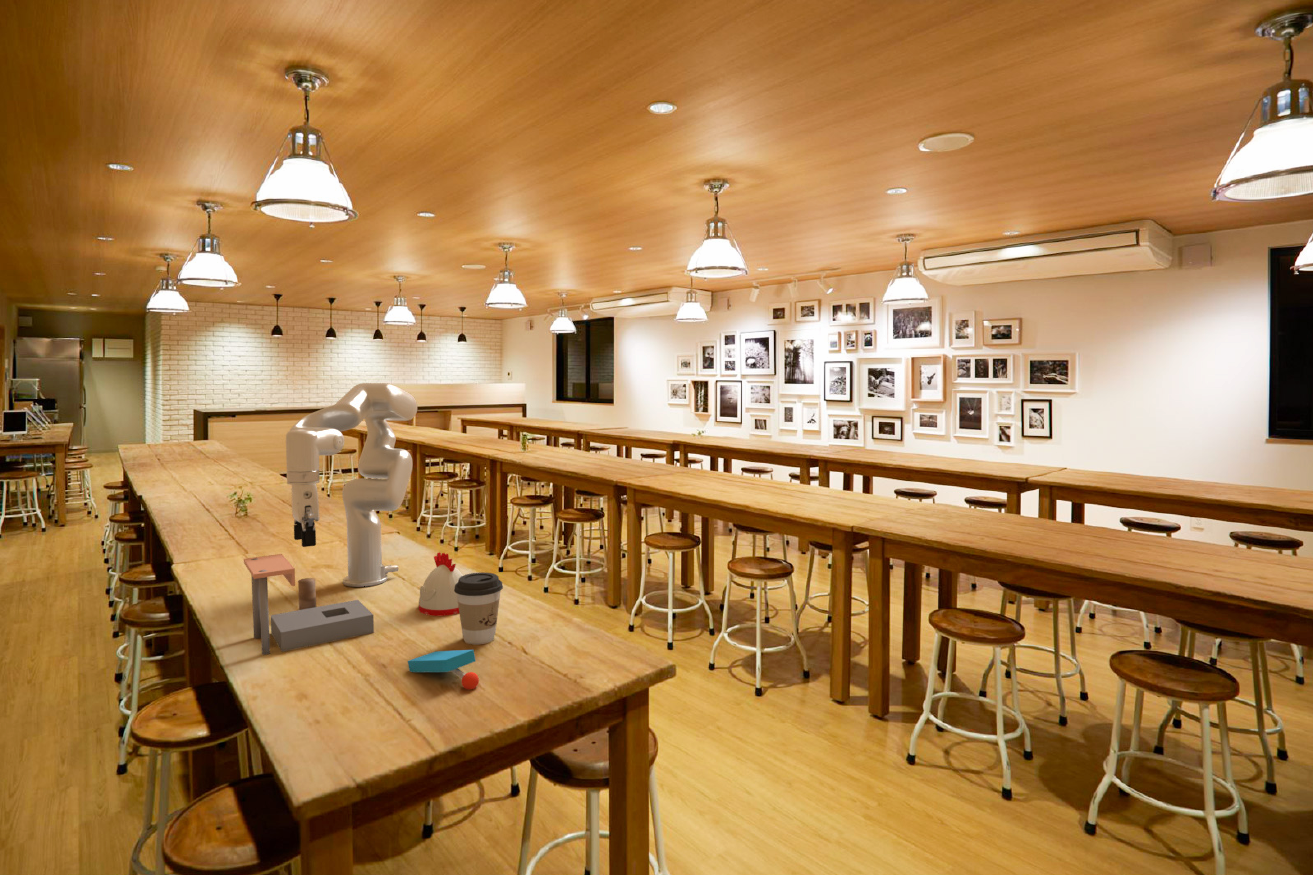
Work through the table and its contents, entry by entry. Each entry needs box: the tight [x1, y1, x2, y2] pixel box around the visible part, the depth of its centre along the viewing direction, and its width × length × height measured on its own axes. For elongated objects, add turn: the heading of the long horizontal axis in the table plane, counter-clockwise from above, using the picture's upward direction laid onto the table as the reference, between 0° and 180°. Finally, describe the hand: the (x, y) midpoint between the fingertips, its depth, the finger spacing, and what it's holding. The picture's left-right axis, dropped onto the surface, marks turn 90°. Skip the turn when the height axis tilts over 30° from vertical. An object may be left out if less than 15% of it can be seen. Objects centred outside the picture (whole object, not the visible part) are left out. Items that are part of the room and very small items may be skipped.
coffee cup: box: [454, 571, 504, 646], centre depth 162 cm, size 11×11×15 cm
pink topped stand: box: [243, 553, 296, 656], centre depth 158 cm, size 8×16×19 cm, turn 38°
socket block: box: [270, 599, 375, 652], centre depth 166 cm, size 20×14×4 cm
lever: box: [407, 649, 480, 691], centre depth 142 cm, size 7×7×18 cm
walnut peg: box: [297, 577, 317, 610], centre depth 179 cm, size 4×4×9 cm
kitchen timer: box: [418, 551, 464, 617], centre depth 185 cm, size 14×14×15 cm
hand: (304, 542), depth 177 cm, fingers open, 9 cm apart
